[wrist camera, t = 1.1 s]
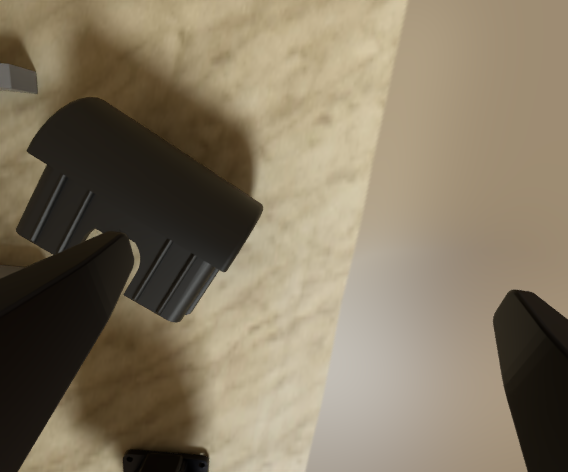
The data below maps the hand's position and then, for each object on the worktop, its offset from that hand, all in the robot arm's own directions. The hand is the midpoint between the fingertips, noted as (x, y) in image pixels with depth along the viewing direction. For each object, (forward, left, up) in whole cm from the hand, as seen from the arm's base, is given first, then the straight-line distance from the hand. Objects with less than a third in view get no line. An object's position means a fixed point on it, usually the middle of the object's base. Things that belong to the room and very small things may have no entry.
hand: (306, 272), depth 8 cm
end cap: (-1, +8, -14) cm, 16 cm away
